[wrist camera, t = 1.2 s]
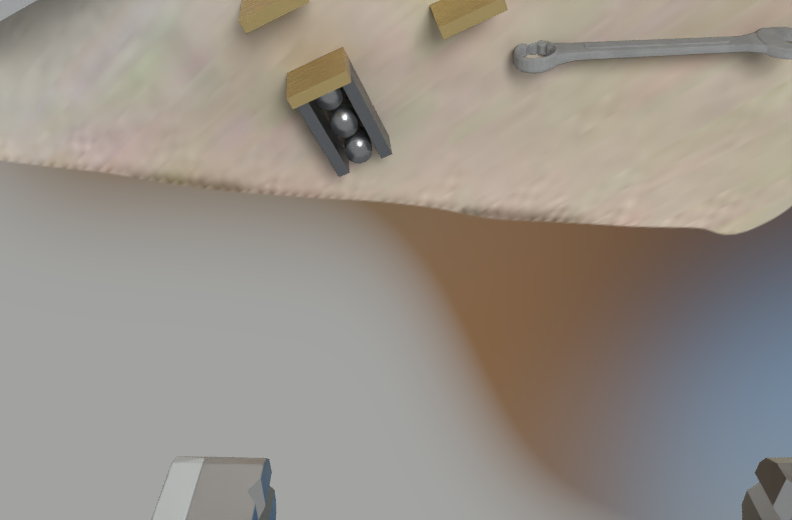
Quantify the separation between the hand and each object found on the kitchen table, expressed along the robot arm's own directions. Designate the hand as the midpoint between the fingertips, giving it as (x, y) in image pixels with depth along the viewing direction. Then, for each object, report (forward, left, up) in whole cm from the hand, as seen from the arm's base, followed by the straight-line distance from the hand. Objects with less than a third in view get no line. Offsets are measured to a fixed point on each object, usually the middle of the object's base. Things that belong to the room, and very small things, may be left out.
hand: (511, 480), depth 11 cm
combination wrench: (+15, +14, -36) cm, 41 cm away
